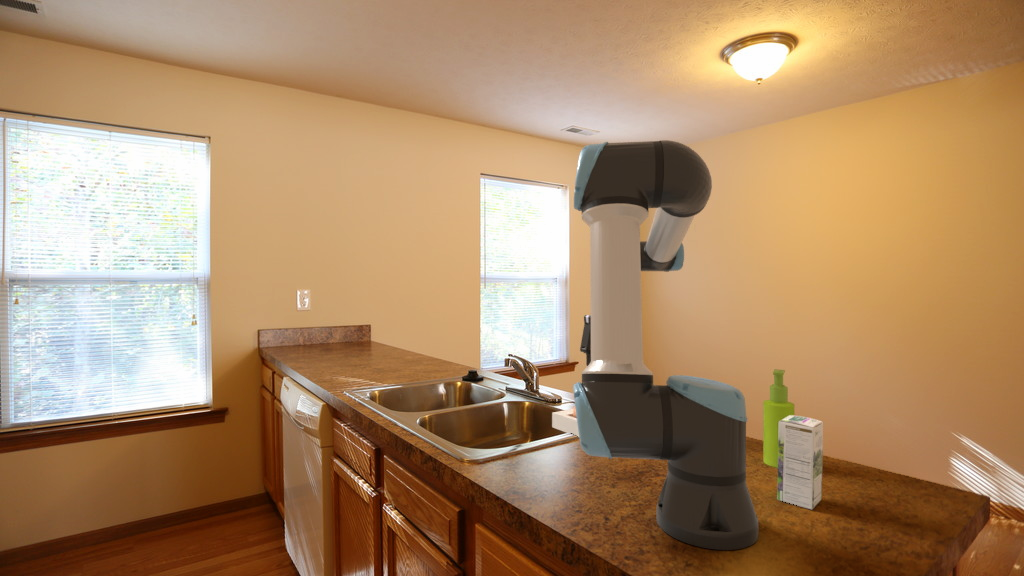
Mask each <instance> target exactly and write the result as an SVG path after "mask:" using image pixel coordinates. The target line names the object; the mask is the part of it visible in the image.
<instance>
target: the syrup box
mask: <svg viewBox="0 0 1024 576" xmlns="http://www.w3.org/2000/svg"><path fill="white" fill-rule="evenodd" d="M823 449H824V422H823V421H822V420H819V419H815V418H813V417H807V416H802V415H794V416H793V415H789V416H788V417H786V418H784V419H782V420H780V421H779V436H778V468H777V485H776V486H777V491H776V492H777V493H776V494H777V495H776V498H777V501H779V502H782V501H783V502H782V503H785V502H786V504H789V503H790V505H793V504H794V506H796V505H797V507H801V508H804V509H807V510H814V509H815V507H817V506H818V504H819V503H821V501H822V499H823V459H824V458H823V453H824V450H823Z"/></svg>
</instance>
